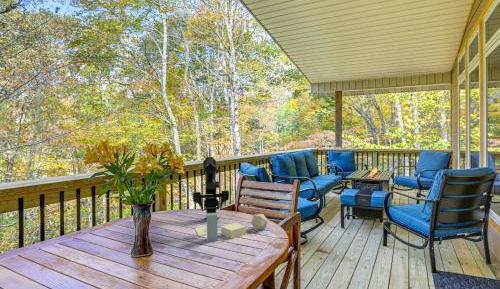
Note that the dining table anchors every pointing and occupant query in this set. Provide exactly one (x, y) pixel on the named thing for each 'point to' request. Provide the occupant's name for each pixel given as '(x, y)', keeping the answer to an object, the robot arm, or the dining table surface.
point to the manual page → (201, 230)
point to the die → (259, 222)
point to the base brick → (233, 230)
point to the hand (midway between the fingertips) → (211, 210)
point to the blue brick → (212, 227)
